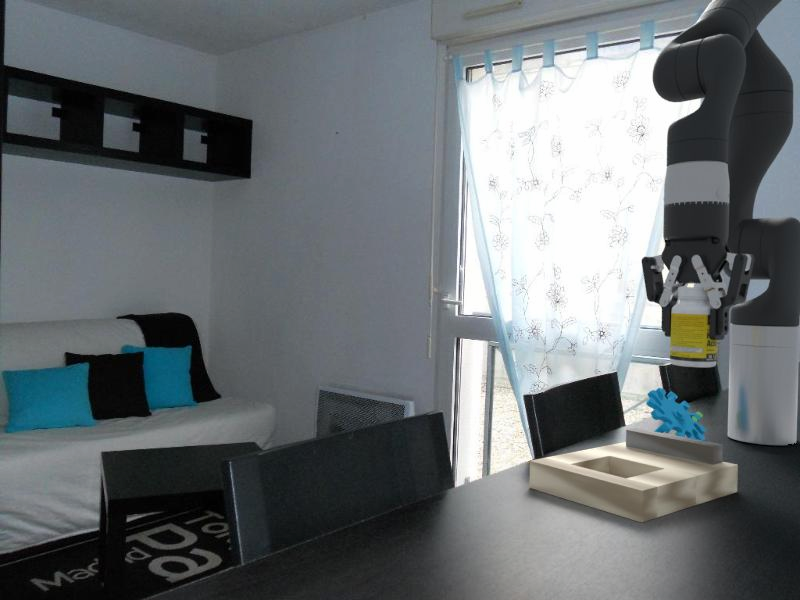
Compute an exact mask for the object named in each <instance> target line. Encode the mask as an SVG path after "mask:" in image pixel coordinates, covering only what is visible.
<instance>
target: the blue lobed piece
mask: <svg viewBox="0 0 800 600" xmlns="http://www.w3.org/2000/svg"><path fill="white" fill-rule="evenodd" d="M666 394H667V392H666V389H664V388H661V387H657V389H652V390H650V391H649V392H648V393H647V397H648V399H647V400H646V402H645V404H646V406H647V407H648V408H651V409H653V410H652V411H651V412H650V415H651V418H652V419H653V420H655V421H658V420H659V421H662V423H661V424H660V425H659V426H658V427H657V428H656V429H654V432H659V433H664V434H670V432H671V431H672V430H673V431H675V432H674V435H675V436H680V437H686V438H691V439H696V440H702V441H706V437H705V436H704V434H705V433H706V428H705V426H703V425H701V424H699V422H701V419H702V418H704V416H703V414H702V413H701V412H700V411H696V412H693V413H692V412H690V411H688V410H689V409H690V408H691V405H690V404H689V403H688V402H687V401H686V400H683V401H681V403H679V402H676V400H677V399H678V395H677V394H676V393H674V392H673V391H670V392H669V393H668V394H667V395H666ZM665 395H666V396H665Z"/></svg>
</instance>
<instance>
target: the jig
mask: <svg viewBox="0 0 800 600" xmlns="http://www.w3.org/2000/svg"><path fill="white" fill-rule="evenodd" d="M654 431H655V430H654ZM654 431H652V430H648V429H642V428H638V427H637V428H636V427H634V428H627V429H626V430H625V441H624V442H618V443H613V444H608V445H602V446H598V447H594V448H588V449H584V450H577V451H573V452H568V453H563V454H557V455H553V456H547V457H542V458H538V459H533V460H529V484H528V485H529V489H532V490H534V491H538V492H541V493H546V494H548V495H552V496H554V497H558V498H562V499H563V500H564V499H565V500H567V501H571V502H575V503H577V504H580V505H584V506H587V507H591V508H593V509H596V510H600V511H604V512H606V513H610V514H612V515H617V516H618V517H622V518H626V519H628V520H629V519H630V520H632V521H635V522H639V523H645V522H648V521H650V520H653V519H656V518H660V517H663V516H666V515H670V514H672V513H676V512H678V511H682V510H684V509H689V508H691V507H695V506H697V505H700V504H704V503H706V502H709V501H713V500H716V499H719V498H722V497H726V496H729V495H732V494H734V493H738V480H739V478H738V473H739V472H738V470H739V468H738V467H739V465H738V464H737V463H736V464H735V463H731V462H727V461H723V450H724V449H723V448H724V446H723V443H722V444H721V443H717V442H711V441H706V440H704V441H702V440H696V439H691V438H688V437H687V436H685V437H680V436H675V434H670V433H665V432H663V433H659V432H654Z"/></svg>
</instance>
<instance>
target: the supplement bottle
mask: <svg viewBox="0 0 800 600" xmlns="http://www.w3.org/2000/svg"><path fill="white" fill-rule="evenodd" d="M678 298H679V299H680V300H679V303H678V304H676V305H674V306H673V307H672V312H671V337H670V340H669V341H670V342H669V343H670V344H669V345H670V346H669V347H670V348H669V362H670V364H671V365H673V366H677V367H687V368H714V367H716V365H717V361H718V360H717V357H718V356H717V353H718V340H711V339H710V309H713V307H712V305H711V302H710V300H709V297H708V294H707V293H706V292H705V291H704V289H703V287H702V286H701V287H700V286H699V287H698V286H697V287H695V286H694V287H692V286H687V287H678Z"/></svg>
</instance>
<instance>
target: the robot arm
mask: <svg viewBox="0 0 800 600" xmlns="http://www.w3.org/2000/svg"><path fill="white" fill-rule="evenodd" d="M781 2H782V0H711V2H709V4H708V5H707V6H706V7H705V8H704V11H702V14H701V15H700V17H699V18H698V20H697V21H696V22H695V24H693V25H691V26H689V27H688V28H686V29H684V31H682V32H681V33H680V34H678V35H677V36H676V37H674V38H673V39H672V40H670V41H669V42H668V43H667V44H666V45H665V46H664V47H663V48H662V49H661V50H660V53H659V54H658V56H657V57H656V59H655V62H654V65H653V68H652V75H651V76H652V85H653V88H654V90H655V92H656V93H657V95H658V96H659V97H661V99H663V100H665V101H667V102H669V103H682V102H688V101H694V100H701V99H703V100H702V102H701V104H700V106H699V107H698V108H697V109H696V110H695V111H693V112H691V113H689V114H687V115H685V116H682V117H680V118H678V119H675V120H674V121H672V122H671V124H670V125H669V127H668V129H667V137H666V172H665V173H666V174H665V178H664V185H663V186H664V188H663V226H662V227H663V232H662V233H663V235H662V236H663V240H664V248H663V251H662V252H661V254H657V255H654V256H643V257H642V258H641V267H642V273H643V280H644V287H645V293H646V298H647V301H648V302H651V303H655V304H658V305H659V306H660V307H661V325H660V326H661V330H662V332H663V333H664V336H665V337H666V338H667V337H668V338H671V312H672V307H673V306H674V305H676V304H678V303H679V302H680V299H679V298H678V287H689V284H692V285H693V284H701V287H703V289H704V291H705V292H706V293H707V294H708V297H709V300H710V303H711V305H712V307H713V309H710V339H711V340H717V341H721V340H724V339H725V336H727V335H728V334H729V362H728V363H729V364H728V365H729V369H728V370H729V371H728V402H727V403H728V405H727V406H728V407H727V409H728V411H727V437H728V438H730V439H732V440H736V441H738V442H744V443H749V444H755V445H756V444H757V445H767V446H789V445H788V444H792V445H794V443H795V444H796V443H797V436H798V435H797V431H798V402H799V401H798V400H799V399H798V397H799V395H798V394H799V365H800V364H799V363H800V362H799V361H800V360H799V358H800V353H799V352H800V220H799V219H798V218H796V217H792V216H778V217H775V216H774V217H761V218H754V207H755V201H756V197H757V193H758V190H759V187H760V185H761V183H762V181H763V179H764V178H765V176H766V174H767V172H768V170H769V168H770V167H771V165H772V164H773V162H774V161H775V160H776V158H777V156H778V155H779V153H780V152H781V150H782V149H783V147H784V146H785V144H786V142H787V141H788V139H789V137H790V135H791V132H792V128H793V124H794V82H793V78H792V76H791V74H790V72H789V71H788V70H787V68H786V67H785V66H786V65H784V63H783V62H782V61H781V60H780V59H779V57H778V55H776V53H775V52H774V51H772V49H771V48H770V46H769V45H768V44H767V43H766V40H764V38H763V36H762V35H761V33H760V32H759V30H758V27H759V25H760V24H761V23H762V21H763V20H764V19H766V17H767V16H768V15H769V14H770V13H771V12H772V11H773V9H774V8H775V7H777V6H778V5H779V4H780V3H781ZM664 265H665V266H664ZM665 267H666V268H667V271H668V273H667V275H666V278H665V280H664V278H663V271H664V269H665ZM722 271H723V272H724V273H725V275H726V276H727V277H728V278H729V282H728V285H727V283H726V281H725V277H724V275H723V273H722ZM751 280H763V281H764V280H769V283H768V287H767V288H766V290H765V291H763V292H762V293H761V294H759V295H757V296H756V297H753V298H752V299H749V300H747V296H748V293H749V292H748V291H749V286H750V282H751ZM730 309H731V310H730ZM729 325H730V326H729ZM729 330H730V331H729Z"/></svg>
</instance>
